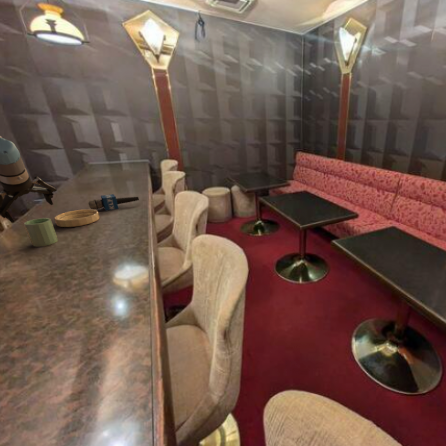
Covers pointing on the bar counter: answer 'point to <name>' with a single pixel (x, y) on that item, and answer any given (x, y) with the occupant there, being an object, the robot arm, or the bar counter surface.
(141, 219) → the bar counter surface
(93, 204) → the microphone
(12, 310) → the bar counter surface
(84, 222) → the bowl
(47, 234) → the tumbler
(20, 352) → the bar counter surface
